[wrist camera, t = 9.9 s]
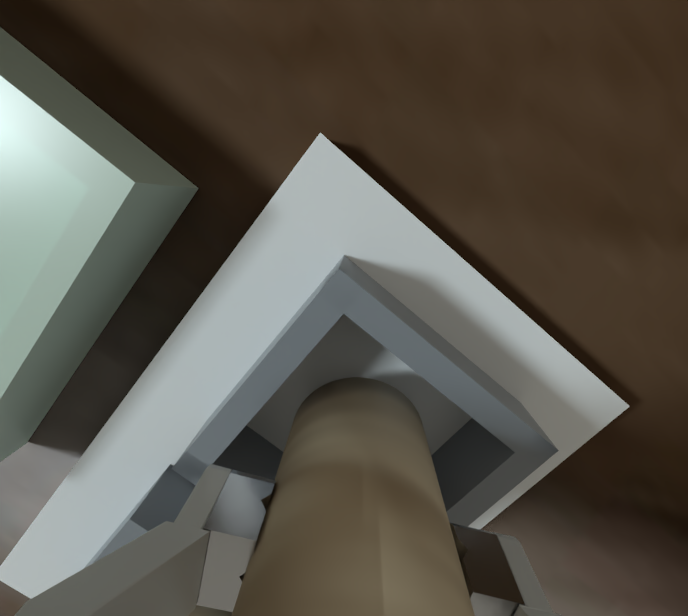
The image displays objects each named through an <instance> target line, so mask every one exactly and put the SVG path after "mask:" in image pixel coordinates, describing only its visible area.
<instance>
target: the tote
mask: <svg viewBox="0 0 688 616" xmlns="http://www.w3.org/2000/svg"><path fill="white" fill-rule="evenodd" d="M198 189H199V188H198V187H196V186H195V185H194V184H193V183H192V182H190V181H189V180H188V179H187V178H185V177H184V176H183V175H182V174H180V173H179V172H178V171H177V170H176V169H174V168H173V167H172V166H171V165H169V164H168V163H167V162H166V161H164V160H163V159H162V158H161V157H160V156H158V155H157V154H156V153H155V152H153V151H152V150H151V149H150V148H148V147H147V146H146V145H145V144H144V143H142V142H141V141H140V140H139V139H137V138H136V137H135V136H134V135H133V134H131V133H130V132H129V131H128V130H126V129H125V128H124V127H123V126H121V125H120V124H119V123H118V122H117V121H115V120H114V119H113V118H112V117H110V116H109V115H108V114H107V113H105V112H104V111H103V110H102V109H101V108H99V107H98V106H97V105H96V104H94V103H93V102H92V101H91V100H89V99H88V98H87V97H86V96H85V95H83V94H82V93H81V92H80V91H78V90H77V89H76V88H75V87H73V86H72V85H71V84H70V83H69V82H67V81H66V80H65V79H64V78H62V77H61V76H60V75H59V74H58V73H56V72H55V71H54V70H53V69H51V68H50V67H49V66H48V65H46V64H45V63H44V62H43V61H42V60H40V59H39V58H38V57H37V56H35V55H34V54H33V53H32V52H30V51H29V50H28V49H27V48H26V47H24V46H23V45H22V44H21V43H19V42H18V41H17V40H16V39H14V38H13V37H12V36H11V35H10V34H8V33H7V32H6V31H5V30H3V29H2V28H1V27H0V462H1V461H2V460H4V459H5V458H6V457H8V456H9V455H11V454H12V453H13V452H15V451H16V450H18V449H19V448H20V447H22V446H23V445H25V444H26V443H27V442H28V441H29V439H30V438H31V436H32V435H33V433H34V432H35V430H36V429H37V427H38V426H39V424H40V423H41V421H42V420H43V418H44V417H45V415H46V414H47V412H48V411H49V409H50V408H51V406H52V405H53V403H54V402H55V401H56V399H57V398H58V396H59V395H60V393H61V392H62V390H63V389H64V387H65V386H66V384H67V383H68V381H69V380H70V378H71V377H72V375H73V374H74V372H75V371H76V369H77V368H78V366H79V365H80V364H81V362H82V361H83V359H84V358H85V356H86V355H87V353H88V352H89V350H90V349H91V347H92V346H93V344H94V343H95V341H96V340H97V338H98V337H99V335H100V334H101V332H102V331H103V329H104V328H105V326H106V325H107V324H108V322H109V321H110V319H111V318H112V316H113V315H114V313H115V312H116V310H117V309H118V307H119V306H120V304H121V303H122V301H123V300H124V298H125V297H126V295H127V294H128V292H129V291H130V289H131V288H132V287H133V285H134V284H135V282H136V281H137V279H138V278H139V276H140V275H141V273H142V272H143V270H144V269H145V267H146V266H147V264H148V263H149V261H150V260H151V258H152V257H153V255H154V254H155V252H156V251H157V249H158V248H159V247H160V245H161V244H162V242H163V241H164V239H165V238H166V236H167V235H168V233H169V232H170V230H171V229H172V227H173V226H174V224H175V223H176V221H177V220H178V218H179V217H180V215H181V214H182V212H183V211H184V210H185V208H186V207H187V205H188V204H189V202H190V201H191V199H192V198H193V196H194V195H195V193H196V192H197V190H198Z"/></svg>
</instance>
